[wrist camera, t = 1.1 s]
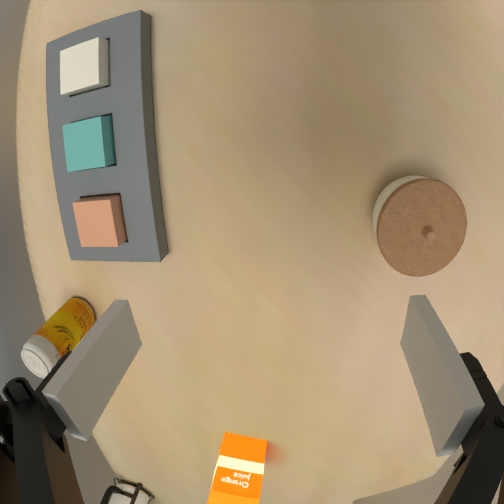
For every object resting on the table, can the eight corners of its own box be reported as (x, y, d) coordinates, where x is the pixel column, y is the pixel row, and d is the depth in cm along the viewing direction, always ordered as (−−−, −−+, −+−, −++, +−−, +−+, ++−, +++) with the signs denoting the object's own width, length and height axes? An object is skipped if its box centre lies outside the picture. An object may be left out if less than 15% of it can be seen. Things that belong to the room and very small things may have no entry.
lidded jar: (411, 150, 34) (444, 161, 25) (452, 216, 36) (487, 243, 28) (345, 203, 38) (361, 228, 29) (392, 265, 40) (414, 302, 31)
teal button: (76, 123, 35) (62, 125, 32) (113, 115, 34) (100, 116, 31) (80, 167, 37) (67, 172, 34) (117, 162, 36) (105, 166, 34)
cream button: (73, 53, 31) (60, 51, 28) (111, 41, 30) (98, 37, 27) (74, 94, 33) (60, 94, 30) (111, 84, 32) (98, 83, 30)
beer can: (97, 329, 51) (54, 386, 37) (70, 318, 51) (24, 370, 37) (95, 301, 48) (45, 357, 34) (67, 291, 48) (14, 341, 35)
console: (59, 45, 32) (46, 43, 29) (150, 16, 30) (140, 9, 28) (81, 252, 45) (70, 260, 42) (168, 252, 43) (160, 262, 40)
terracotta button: (85, 196, 39) (72, 202, 36) (121, 193, 38) (109, 199, 35) (92, 238, 41) (81, 246, 38) (128, 238, 40) (118, 246, 38)
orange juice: (258, 456, 61) (247, 534, 42) (219, 448, 61) (201, 525, 43) (267, 440, 57) (256, 525, 39) (224, 431, 58) (205, 515, 39)
